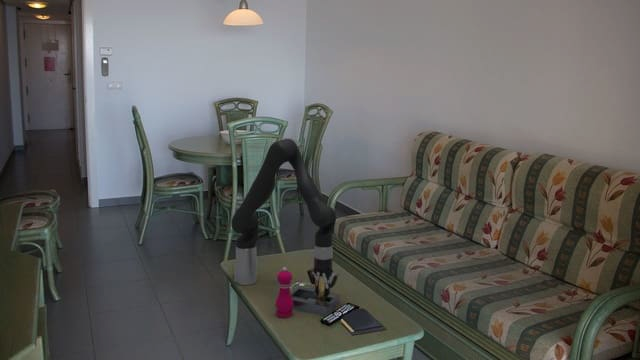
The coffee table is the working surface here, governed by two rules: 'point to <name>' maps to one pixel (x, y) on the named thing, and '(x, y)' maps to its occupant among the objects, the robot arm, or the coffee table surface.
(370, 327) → the wallet
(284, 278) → the pepper mill
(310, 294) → the keyhole plate
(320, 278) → the bolt
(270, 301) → the coffee table surface
